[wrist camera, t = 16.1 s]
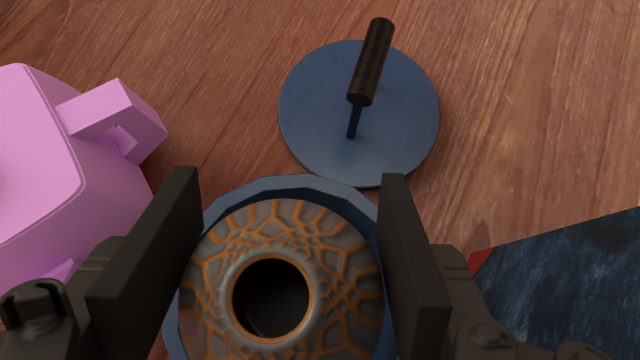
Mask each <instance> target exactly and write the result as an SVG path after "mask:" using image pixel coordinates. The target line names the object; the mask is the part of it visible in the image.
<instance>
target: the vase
mask: <svg viewBox="0 0 640 360" xmlns="http://www.w3.org/2000/svg"><path fill="white" fill-rule="evenodd" d="M384 316H385V291H384V284H383V279H382V275H381V271H380V268H379V265H378V263H377V260H376V258H375V256H374V254H373V252H372V250H371V249H370V247H369V245H368V244H367V242H366V241H365V239H364V238H363V237H362V236H361V234H360V233H359V232H358V231H357V230H356V229H355V228H354V227H353V226H352V225H351V224H350V223H349V222H348V221H346V220H345V219H344V218H342V217H341V216H340V215H338V214H336V213H335V212H333V211H331V210H329V209H327V208H325V207H323V206H320V205H318V204H315V203H312V202H308V201H303V200H298V199H271V200H265V201H260V202H257V203H253V204H250V205H248V206H245V207H243V208H241V209H238V210H237V211H235V212H233V213H231V214H230V215H228V216H227V217H225V218H224V219H222V220H221V221H220V222H218V223H217V224H216V225H215V226H214V227H213V228H212V229H211V230H210V231H209V232H208V233H207V234H206V235H205V236H204V237H203V239H202V240H201V241H200V243H199V244H198V245H197V247H196V248H195V250H194V252H193V253H192V255H191V257H190V259H189V261H188V263H187V266H186V268H185V271H184V274H183V276H182V280H181V284H180V289H179V296H178V322H179V329H180V334H181V338H182V341H183V344H184V347H185V350H186V352H187V354H188V356H189V359H190V360H370V359H371V357H372V356H373V354H374V351H375V349H376V347H377V345H378V342H379V339H380V336H381V332H382V328H383V323H384Z"/></svg>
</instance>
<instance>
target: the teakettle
mask: <svg viewBox="0 0 640 360" xmlns="http://www.w3.org/2000/svg"><path fill="white" fill-rule="evenodd" d="M116 124H119V125H118V126H117V127H115V126H114V125H116ZM168 135H169V133H168V131H167V130H166V128H165V126H164V124H163V122H162V121H161V119H160V117H159V115H158V114H157V112H156V111H155V110H154V109H153V108H152V107H150V106H149V105H148V104H147V103H146V102H145V101H144V100H142V99H141V98H140V97H139V96H138V95H137V94H135V93H134V92H133V91H132V90H131V89H130V88H129V87H127V86H126V85H125V84H124V83H123V82H122V81H120V80H119V79H118V78H116V79H114V80H112V81H110V82H107V83H105V84H103V85H101V86H99V87H97V88H95V89H92V90H90V91H88V92H86V93H84V94H82V93H80V92H79V91H78V90H76V89H74V88H73V87H71V86H69V85H68V84H66V83H64V82H62V81H60V80H58V79H56V78H54V77H52V76H50V75H48V74H46V73H44V72H42V71H39V70H37V69H35V68H33V67H30V66H28V65H26V64H22V63H13V64H9V65H5V66H2V67H0V297H1V296H2V295H4V294H5V293H6V292H8V291H9V290H10V289H12V288H13V287H15V286H17V285H20V284H22V283H24V282H27V281H30V280H34V279H37V278H54V279H58V280H60V281H61V282H62V283H63V284H64V285H65V284H66V283H67V282H68V280H69V279H70V278H71V277H72V275H73V274H74V273H75V271H76V270H78V269H79V266H80V265H81V264H82V263H83V261H84V260H86V258H87V256H88V255H89V254H90V253H91V251H92V250H93V249H94V247H95V246H96V245H98V244H99V243H101V242H102V241H104V240H105V239H107V238H108V237H110V236H127V234H128V233H129V231H130V230H131V229H132V227H133V226H134V224H135V223H136V222H137V220H138V219H139V217H140V216H141V215H142V213H143V212H144V210H145V209H146V207H147V206H148V205H149V203H150V202H151V200H152V199H153V198H154V196H153V194H152V192H151V189H150V187H149V185H148V183H147V181H146V179H145V177H144V175H143V173H142V171H141V169H140V168H139V166H138V165H139V164H140V163H141V162H142V161H143V160H144V159H145V158H146V157H147V156H148V155H149V154H150V153H151V152H152V151H153V150H154V149H155V148H156V147H157V146H158V145H159V144H160V143H161V142H162V141H163V140H164V139H165V138H166V137H167V136H168ZM0 318H1V317H0Z"/></svg>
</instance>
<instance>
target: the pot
mask: <svg viewBox="0 0 640 360" xmlns="http://www.w3.org/2000/svg"><path fill="white" fill-rule="evenodd" d="M271 199H298V200H303V201H308V202H312V203H315V204H318V205H320V206H323V207H325V208H327V209H329V210H331V211H333V212H335V213H336V214H338V215H340V216H341V217H342V218H344V219H345V220H346V221H348V222H349V223H350V224H351V225H352V226H353V227H354V228H355V229H356V230H357V231H358V232H359V233H360V234H361V236H362V237H363V238H364V239H365V241H366V242H367V244H368V245H369V247H370V249H371V250H372V252H373V254H374V256H375V258H376V260H377V263H378V265H379V268H380V271H381V275H382V279H383V284H384V291H385V316H384V323H383V328H382V332H381V336H380V339H379V342H378V345H377V347H376V349H375V351H374V354H373V356H372V357H371V359H370V360H399V355H398V350H397V345H396V339H395V334H394V329H393V324H392V319H391V313H390V308H389V303H388V298H387V293H386V287H385V282H384V277H383V272H382V267H381V261H380V256H379V251H378V246H377V241H376V235H375V229H376V221H377V213H378V206H377V205H376V204H374V203H373V202H372V201H371V200H369V199H368V198H367V197H366V196H364V195H363V194H362V193H361V192H359V191H358V190H357V189H356V188H354V187H352V186H349V185H346V184H343V183H339V182H336V181H333V180H330V179H326V178H323V177H320V176H317V175H313V174H310V173H309V174H308V173H302V174H289V175H276V176H263V177H262V178H258V179H256V180H254V181H252V182H250V183H248V184H246V185H243V186H241V187H239V188H237V189H235V190H233V191H231V192H229V193H227V194H225V195H223V196H221V197H219V198H217V199H216V200H215V201H214V202H213V203H212V204H211V205H210V206H209V207H208V208H207V209H206V211H205V212H204V213H203V221H204V230H203V232H202V234H201V237H200V239H199V241H198V243H197V245H198V244H199V243H200V241H201V240H202V239H203V237H204V236H205V235H206V234H207V233H208V232H209V231H210V230H211V229H212V228H213V227H214V226H215V225H216V224H217V223H218V222H220V221H221V220H222V219H224V218H225V217H227V216H228V215H230V214H231V213H233V212H235V211H237V210H238V209H241V208H243V207H245V206H248V205H250V204H253V203H257V202H260V201H265V200H271ZM196 247H197V246H196ZM180 284H181V282H180ZM180 284H179V287H178V289H177V291H176V293H175V296H174V298H173V300H172V303H171V305H170V307H169V309H168V312H167V314H166V316H165V319H164V321H163V323H162V337H163V341H164V344H165V346H166V349H167V351H168V354H169V356H170V359H171V360H190V359H189V356H188V354H187V352H186V350H185V347H184V344H183V341H182V338H181V334H180V329H179V322H178V296H179V289H180Z"/></svg>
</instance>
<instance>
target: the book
mask: <svg viewBox="0 0 640 360" xmlns="http://www.w3.org/2000/svg"><path fill="white" fill-rule="evenodd" d="M467 265H468V267H469V270H470V271H471V273H472V275H473V277H474V281H476V284H477V286H478V288H479V290H480V292H481V294H482V296H483V298H484V300H485V302H486V305H487V307H488V309H489V311H490V313H491V315H492V317H493V319H495V320H497V321H499V322H500V323H502V324H503V325H505V326H506V327H507V328H508V329H509V330H510V331H511V333H512V334H513V335H514V336H515V339H516V340H518V341H520V342H523V343H525V344H528V345H531V346H535V347H538V348H542V349H545V350H549V351H552V352H555V351H556V349H557V347H558V345H560V344H561V343H563V342H565V341H579V342H583V343H587V344H590V345H592V346H594V347H596V348H598V349H600V350H602V351H603V352H604V353H606V354H607V355H608V356H610V357H611V358H612V359H613V360H640V206H638V207H635V208H631V209H628V210H624V211H621V212H617V213H614V214H610V215H606V216H603V217H599V218H596V219H592V220H589V221H585V222H582V223H578V224H575V225H571V226H568V227H564V228H560V229H557V230H553V231H550V232H546V233H543V234H539V235H536V236H532V237H529V238H525V239H521V240H518V241H514V242H511V243H507V244H504V245H500V246H497V247H493V248H490V249H486V250H481V251H477V252H474V253H472V254H471V255H470V258H469V261H468V263H467Z"/></svg>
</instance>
